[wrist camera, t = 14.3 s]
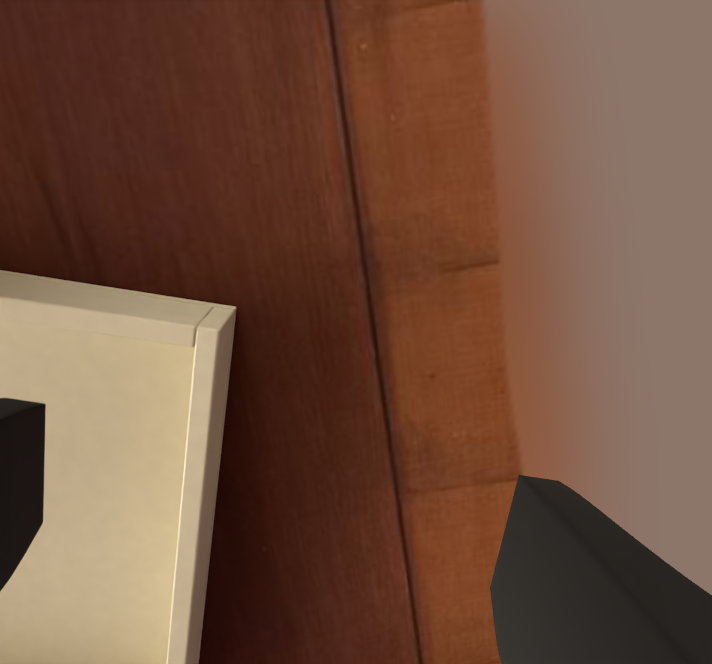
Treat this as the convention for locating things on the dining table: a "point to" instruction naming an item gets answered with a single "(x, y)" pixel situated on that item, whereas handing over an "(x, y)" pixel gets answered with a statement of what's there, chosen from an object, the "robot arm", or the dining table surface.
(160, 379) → the cream wooden tray
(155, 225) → the dining table surface
